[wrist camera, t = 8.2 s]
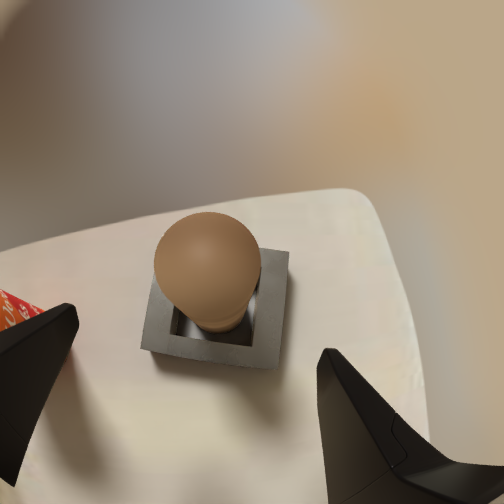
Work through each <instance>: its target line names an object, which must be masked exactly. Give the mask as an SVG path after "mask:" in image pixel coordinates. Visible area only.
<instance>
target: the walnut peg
mask: <svg viewBox="0 0 504 504" xmlns="http://www.w3.org/2000/svg"><path fill="white" fill-rule="evenodd" d="M260 270H261V255H260V250H259V247H258V244H257V242H256V240H255V238H254V236H253V235H252V234H251V232H250V231H249V230H248V229H247V228H246V227H245V226H244V225H243V224H242V223H241V222H239V221H238V220H236V219H234V218H232V217H230V216H227V215H224V214H221V213H215V212H202V213H196V214H193V215H189V216H187V217H185V218H183V219H181V220H179V221H177V222H176V223H175V224H174V225H172V226H171V227H170V228H169V229H168V230H167V231H166V233H165V234H164V235H163V237H162V238H161V240H160V242H159V244H158V246H157V249H156V252H155V258H154V271H155V276H156V280H157V283H158V285H159V287H160V289H161V291H162V292H163V294H164V295H165V296H166V297H167V298H168V299H169V300H170V301H171V302H172V303H173V304H174V305H175V306H176V307H177V308H178V309H179V310H181V311H182V312H183V313H184V314H185V315H186V316H187V317H189V318H190V319H191V320H192V321H193V322H194V323H195V324H197V325H198V326H199V327H200V328H201V329H203V330H204V331H206V332H209V333H212V334H223V333H227V332H229V331H232V330H233V329H235V328H236V327H237V326H238V325H239V323H240V322H241V320H242V318H243V316H244V314H245V311H246V309H247V306H248V304H249V301H250V299H251V296H252V294H253V291H254V289H255V286H256V284H257V281H258V278H259V275H260Z"/></svg>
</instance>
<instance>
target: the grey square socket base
mask: <svg viewBox="0 0 504 504" xmlns="http://www.w3.org/2000/svg"><path fill="white" fill-rule="evenodd" d="M259 250H260V255H261V270H260V275H259V278H258V284H257V292H256V301H255V309H254V317H253V326H252V334H251V342H250V347H249V346H241V345H233V344H226V343H219V342H212V341H206V340H200V339H194V338H188V337H182V336H176V330H177V324H178V318H179V311H180V310H179V309H178V308H177V307H176V306H175V305H174V304H173V303H172V302H171V301H170V300H169V299H168V298H167V297H166V296H165V295H164V294H163V292H162V291H161V289H160V287H159V285H158V283H157V280H156V276H155V271H154V276H153V281H152V285H151V290H150V295H149V301H148V306H147V311H146V317H145V323H144V329H143V335H142V341H141V348H140V349H144V350H148V351H153V352H158V353H162V354H167V355H172V356H178V357H183V358H189V359H194V360H200V361H207V362H213V363H220V364H227V365H235V366H243V367H251V368H261V369H271V370H278V364H279V355H280V346H281V337H282V327H283V317H284V307H285V296H286V285H287V273H288V261H289V252H286V251H279V250H272V249H265V248H259Z"/></svg>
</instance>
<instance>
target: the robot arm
mask: <svg viewBox="0 0 504 504" xmlns="http://www.w3.org/2000/svg"><path fill="white" fill-rule="evenodd" d="M78 329H79V319H78V315H77V311H76V307H75V306H74V305H73V304H69V303H63V304H61V305H58V306H56V307H54V308H52V309H49V310H47V311H45V312H42V313H40V314H38V315H36V316H33V317H31V318H29V319H27V320H24V321H22V322H20V323H18V324H16V325H13V326H11V327H9V328H7V329H5V330H2V331H0V478H1V479H3V480H4V481H5V482H7V483H8V484H10V485H11V486H12V487H15V484H16V481H17V478H18V474H19V471H20V468H21V465H22V462H23V459H24V456H25V453H26V450H27V447H28V444H29V442H30V439H31V436H32V434H33V431H34V429H35V426H36V424H37V421H38V419H39V416H40V414H41V412H42V409H43V407H44V405H45V402H46V400H47V398H48V396H49V394H50V391H51V389H52V387H53V385H54V383H55V381H56V379H57V377H58V375H59V373H60V371H61V369H62V367H63V365H64V362H65V360H66V358H67V356H68V353H69V351H70V348H71V346H72V343H73V341H74V338H75V336H76V333H77V331H78ZM317 408H318V416H319V424H320V432H321V439H322V448H323V456H324V465H325V474H326V483H327V493H328V504H504V466H491V465H478V464H467V463H460V462H456V461H453V460H451V459H449V458H447V457H446V456H444V455H443V454H441V453H440V452H439V451H438V450H437V449H436V448H434V447H433V446H432V445H431V444H430V443H429V442H427V441H426V440H425V439H424V438H423V437H421V436H420V435H419V434H418V433H417V432H416V431H415V430H414V429H412V428H411V427H410V426H409V425H408V424H407V423H406V422H405V421H404V420H403V419H402V417H401V416H400V415H399V414H398V413H395V410H394V409H393V408H392V407H391V406H390V405H389V404H388V403H387V402H386V401H385V400H384V399H383V398H382V396H381V395H380V394H379V393H378V392H377V391H376V390H375V389H374V388H373V387H372V386H371V385H370V384H369V383H368V382H367V381H366V379H365V378H364V377H363V376H362V375H361V374H360V373H359V372H358V371H357V370H356V369H355V368H354V367H353V366H352V365H351V364H350V363H349V361H348V360H347V359H346V358H345V357H344V356H343V355H342V354H341V353H340V352H339V351H338V350H337V349H335V348H325V349H324V350H323V352H322V355H321V357H320V360H319V362H318V365H317Z"/></svg>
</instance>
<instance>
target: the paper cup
mask: <svg viewBox="0 0 504 504" xmlns="http://www.w3.org/2000/svg"><path fill="white" fill-rule="evenodd" d="M42 312H45V311H44V310H42V309H40V308H37V307H35V306H33V305H31V304H29V303H27V302H25V301H23V300H21V299H19V298H17V297H15V296H13V295H11V294H9V293H7V292H5V291H3V290H1V289H0V331H2V330H5V329H7V328H9V327H11V326H13V325H16V324H18V323H20V322H22V321H24V320H27V319H29V318H31V317H33V316H36V315H38V314H40V313H42ZM66 359H67V358H66ZM65 361H66V360H65ZM64 363H65V362H64Z"/></svg>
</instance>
